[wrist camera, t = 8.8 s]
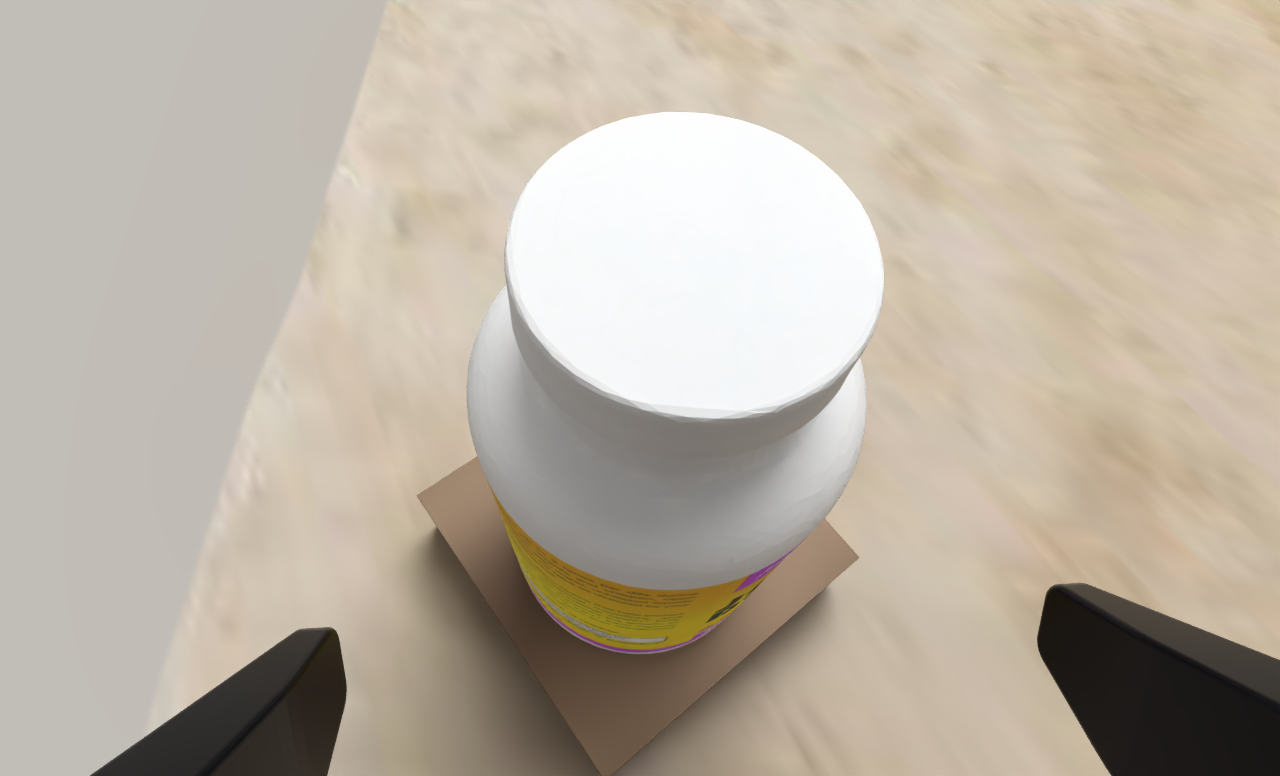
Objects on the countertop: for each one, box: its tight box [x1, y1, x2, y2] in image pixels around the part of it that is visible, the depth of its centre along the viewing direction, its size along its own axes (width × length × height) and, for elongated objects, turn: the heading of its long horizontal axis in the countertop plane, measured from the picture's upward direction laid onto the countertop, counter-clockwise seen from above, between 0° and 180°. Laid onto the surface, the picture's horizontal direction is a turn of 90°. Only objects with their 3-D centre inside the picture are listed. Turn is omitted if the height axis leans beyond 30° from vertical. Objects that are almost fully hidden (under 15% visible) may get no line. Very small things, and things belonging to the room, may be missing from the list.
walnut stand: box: [417, 456, 859, 776], centre depth 21 cm, size 9×9×3 cm
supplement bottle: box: [467, 112, 884, 654], centre depth 14 cm, size 7×7×13 cm
